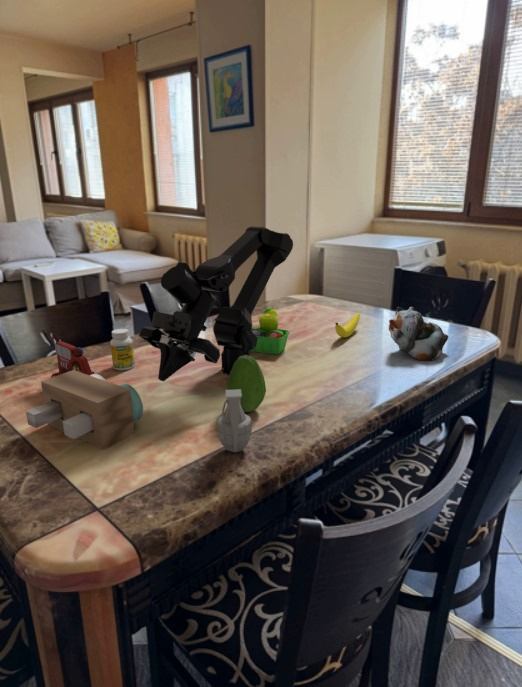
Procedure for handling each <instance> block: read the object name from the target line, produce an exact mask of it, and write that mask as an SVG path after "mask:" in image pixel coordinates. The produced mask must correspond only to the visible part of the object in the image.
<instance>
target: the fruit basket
mask: <svg viewBox="0 0 522 687" xmlns="http://www.w3.org/2000/svg"><path fill="white" fill-rule="evenodd" d="M258 322H259V327H257V326H256V327H255V326H254V327H253V326H252V329H251V331H252V332H253V333H254V335H255V336H256V337H257V338H258V340H257V345H256V347H254V349H253V350H251V352H256V353H264V354H265V353H266V354H273V355H280V354H281V353H282V352H283V351H284V350H285V349H286V345H287V342H288V338H289V335H290V330H288V329H282V328H281V329H280V328H279V329H278V326H279V320H278V312H277V311H276V310H275V309H274V307H270V306H269V307H266V308H265V309H264V311H263V312H262V315H261V316H260V317H259V318H258Z"/></svg>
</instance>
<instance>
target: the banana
mask: <svg viewBox="0 0 522 687" xmlns="http://www.w3.org/2000/svg"><path fill="white" fill-rule="evenodd" d="M360 317H361V312H356V314H354V316H352V318H350V320H349V321H348V322H347V323H346V324H345V325H344V326H342V325H341V324H339V322H335V326H334V329H335V332H336V334H337V336H339V337H341V338H343V339H344V338H345V339H346V338H348V337H350V336H351V335H352V334H353V333H354V331H355V330H356V329H357V327H358V324H359V321H360Z"/></svg>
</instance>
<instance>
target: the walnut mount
mask: <svg viewBox="0 0 522 687" xmlns="http://www.w3.org/2000/svg"><path fill="white" fill-rule="evenodd" d="M40 382H41V388H42V390H41V391H42V395H43V401H44V402H43V403H44V404H42V405H39V406H37V407H34V408H31V409H29V410H26V411H25V414H26V421H27V424H28V425H29V426H31V427H33V428H35V429H38V428H40V427H43V426H45V425H49V426H52V427H54V428H56V429H58V430H60V431H62V432H64V427H63V421H65V420H67V419H69V418H72V417H74V416H76V415H79V414H81V413H83V412H85V413H87V414H90V415H92V423H93V430H92V431H90V432H88V433H86V434H83V435H81V436H79V437H77V438H78V439H80V440H82V441H84V442H86V443H88V444H90V445H93V446H95V447H97V448H99V449H101V450H103V451H104V450H106V449H108V448H110V447H112V446H113V445H116V444H118V443H120V442H122V441H124V440H125V439H127V438H129V437H131V436H133V435H135V433H136V432H135V422H134V421H133V412H132V402H131V393H130V389H128V388H125V387H122V386H119V385H120V384H116V383H112V382H109V381H107V380H106V379H105V378H104V377H103V376H102V375H100V374H99V373H96V374H92V375H87V374H84V373H81V372H78V371H75V370H72V371H69V372H66V373H64V374H61V375H58V376H55V377H52V378H51V377H50V378H47V379H44V380H41V381H40ZM77 438H76V439H77Z"/></svg>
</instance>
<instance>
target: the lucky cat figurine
mask: <svg viewBox="0 0 522 687" xmlns="http://www.w3.org/2000/svg"><path fill="white" fill-rule="evenodd" d="M395 309H396V310H395V313H394V317H393V318H392V319H389V320H388V331H389V333H390V337H391V339H392V340H393V342H394V343H395V344H396V345H397V347H398V349H399V350H402V351H404V352H406V353H408V354H409V355H410V356H411V357H412V358H414V359H416V360H418V361H419V362H432V361H433V360H435V359H436V360H437V359H438V358H439V357H440V356H441V355H442V354H443V348H444V346H445V345H446V343H447V341H448V340H449V335H447V333H446V334H445V333H444V332H443V329H442V327H441V326H440V325H439V324H436V323H433V322H430V321H428V322H425V320H424V318H423V315H422V314H421V312H419V311H417V310H416V309H415V307H413V306H410V307H409V308H408V309H407V310H406V309H404V308H403V307H401V306H397V307H396V308H395Z"/></svg>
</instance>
